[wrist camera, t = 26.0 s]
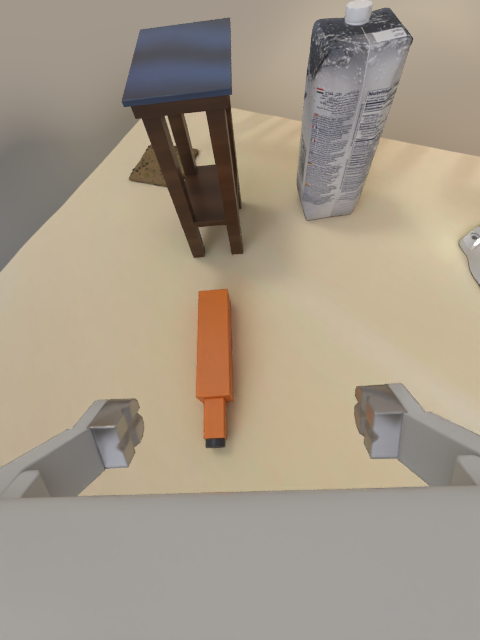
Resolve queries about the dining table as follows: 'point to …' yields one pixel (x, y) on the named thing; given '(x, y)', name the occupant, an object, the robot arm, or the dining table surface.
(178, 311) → the dining table surface
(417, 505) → the robot arm
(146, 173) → the cookie
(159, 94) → the stand
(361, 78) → the juice carton
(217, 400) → the long orange stepped prism
